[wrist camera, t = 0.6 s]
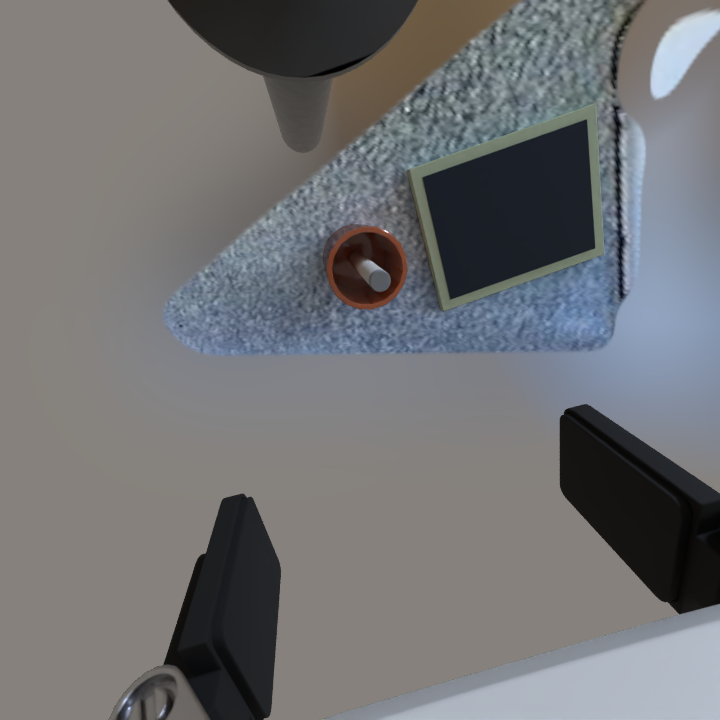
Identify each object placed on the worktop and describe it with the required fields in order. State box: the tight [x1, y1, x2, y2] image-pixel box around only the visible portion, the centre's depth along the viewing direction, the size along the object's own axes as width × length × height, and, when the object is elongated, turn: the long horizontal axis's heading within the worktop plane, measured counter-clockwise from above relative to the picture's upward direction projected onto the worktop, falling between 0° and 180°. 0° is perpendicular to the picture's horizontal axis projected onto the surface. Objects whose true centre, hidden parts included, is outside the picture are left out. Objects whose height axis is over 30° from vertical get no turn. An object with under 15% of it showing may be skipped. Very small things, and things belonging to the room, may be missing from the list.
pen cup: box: [323, 224, 407, 309], centre depth 33 cm, size 6×6×8 cm
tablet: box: [407, 104, 604, 311], centre depth 37 cm, size 14×18×1 cm
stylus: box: [349, 252, 391, 292], centre depth 30 cm, size 1×1×13 cm
